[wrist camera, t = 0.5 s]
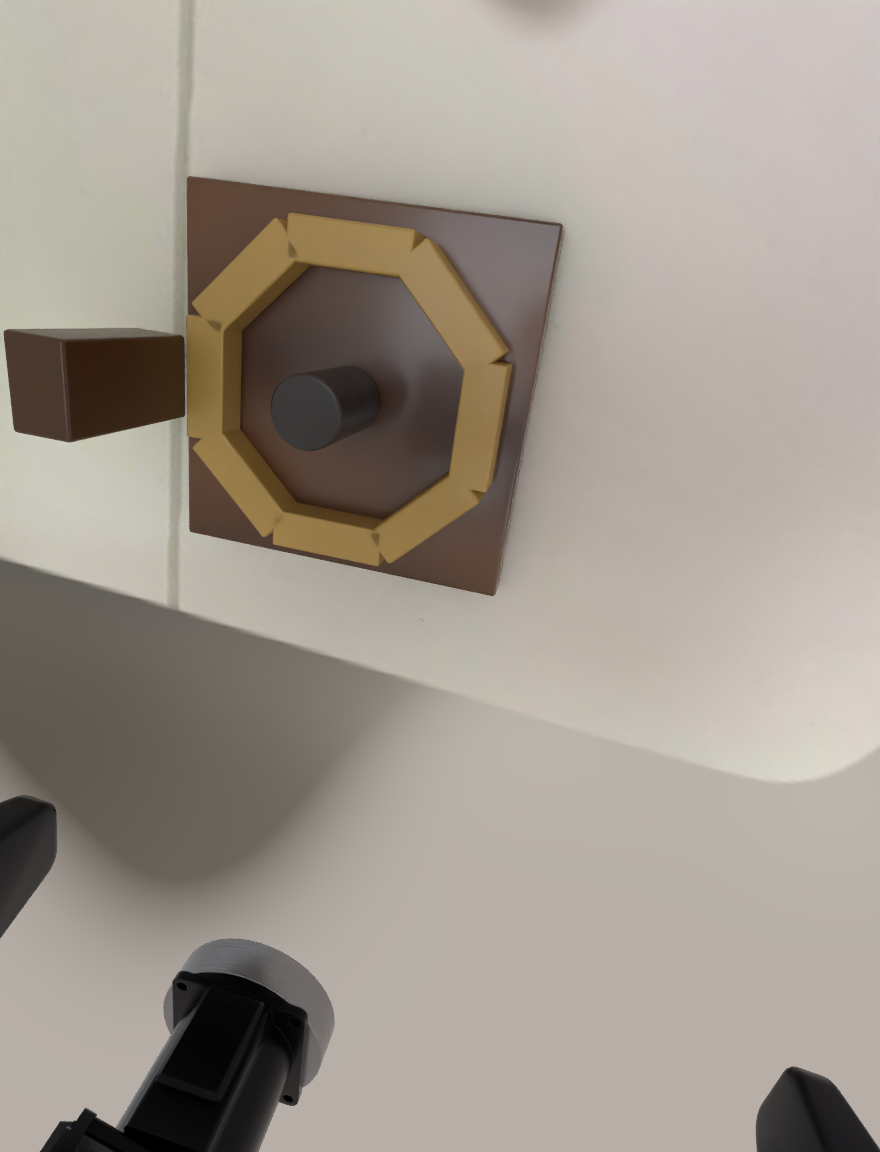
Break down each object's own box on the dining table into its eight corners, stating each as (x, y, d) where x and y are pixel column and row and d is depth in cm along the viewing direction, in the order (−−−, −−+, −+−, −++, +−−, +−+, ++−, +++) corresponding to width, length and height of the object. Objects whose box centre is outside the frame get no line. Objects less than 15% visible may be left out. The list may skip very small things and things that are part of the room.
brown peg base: (498, 586, 23) (477, 644, 19) (203, 524, 24) (124, 565, 20) (564, 228, 19) (557, 200, 14) (203, 181, 20) (104, 145, 16)
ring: (476, 573, 22) (435, 662, 16) (164, 508, 23) (27, 568, 18) (532, 248, 18) (505, 214, 12) (158, 198, 20) (-19, 147, 14)
